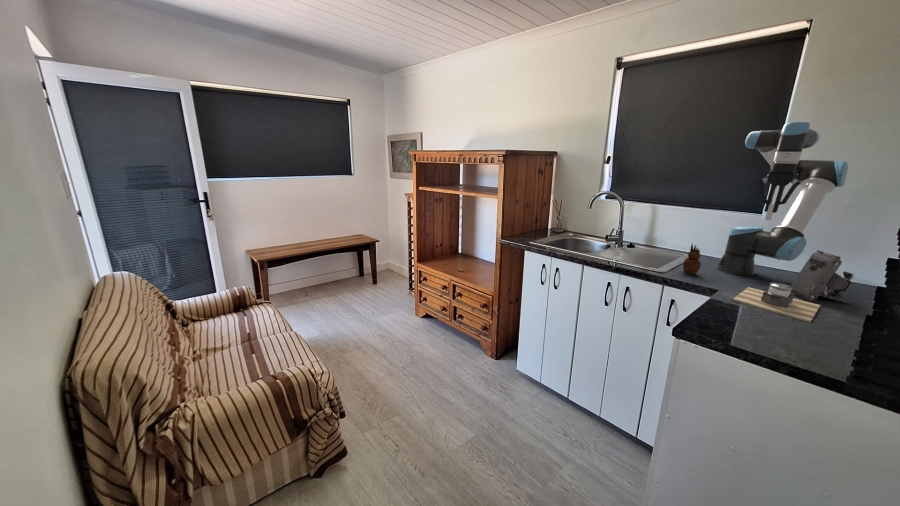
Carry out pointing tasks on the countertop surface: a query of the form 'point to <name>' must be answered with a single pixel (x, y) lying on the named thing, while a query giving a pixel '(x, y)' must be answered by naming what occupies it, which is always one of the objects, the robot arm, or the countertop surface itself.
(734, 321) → the countertop surface
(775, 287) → the glass jar
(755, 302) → the mount board
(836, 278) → the camera
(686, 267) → the wooden figurine
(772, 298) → the dark grey faceted bowl
